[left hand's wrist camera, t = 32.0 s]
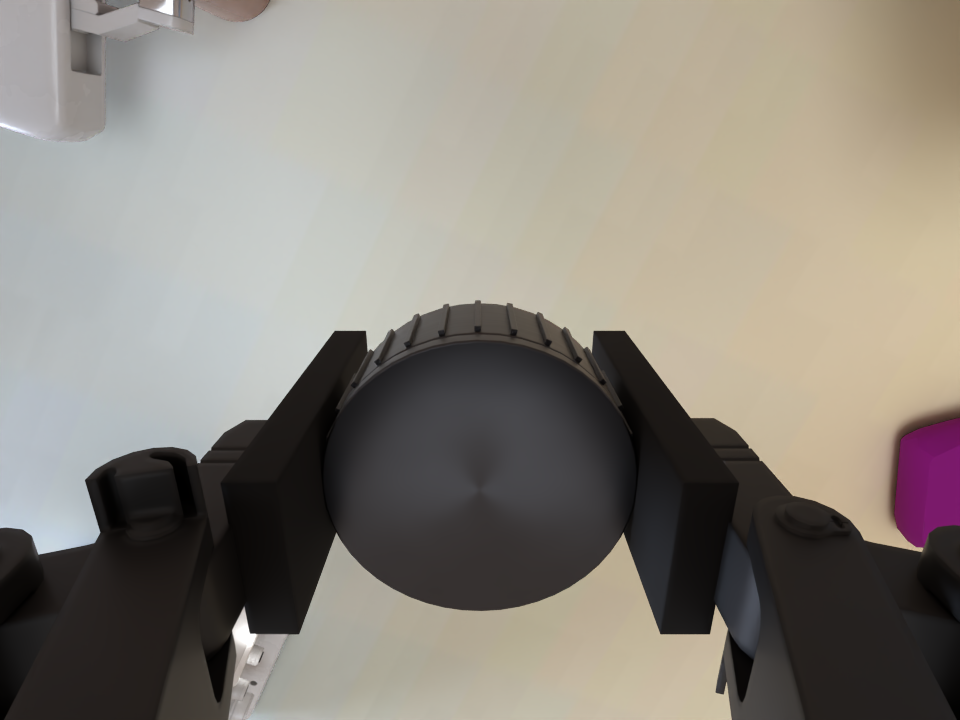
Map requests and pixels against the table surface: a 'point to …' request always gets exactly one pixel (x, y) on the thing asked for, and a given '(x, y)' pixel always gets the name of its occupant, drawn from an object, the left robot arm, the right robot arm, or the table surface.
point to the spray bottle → (928, 481)
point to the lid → (479, 460)
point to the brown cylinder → (233, 8)
